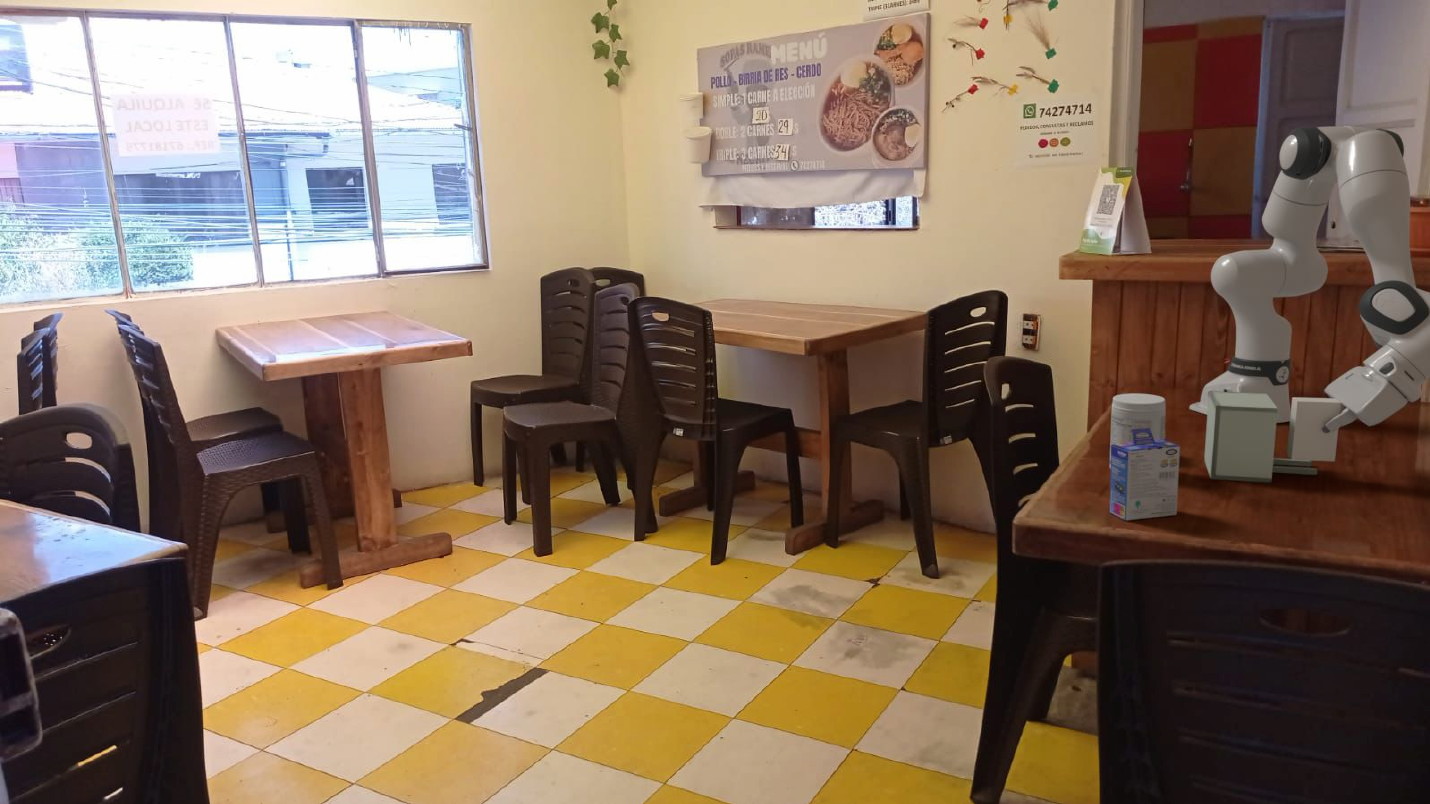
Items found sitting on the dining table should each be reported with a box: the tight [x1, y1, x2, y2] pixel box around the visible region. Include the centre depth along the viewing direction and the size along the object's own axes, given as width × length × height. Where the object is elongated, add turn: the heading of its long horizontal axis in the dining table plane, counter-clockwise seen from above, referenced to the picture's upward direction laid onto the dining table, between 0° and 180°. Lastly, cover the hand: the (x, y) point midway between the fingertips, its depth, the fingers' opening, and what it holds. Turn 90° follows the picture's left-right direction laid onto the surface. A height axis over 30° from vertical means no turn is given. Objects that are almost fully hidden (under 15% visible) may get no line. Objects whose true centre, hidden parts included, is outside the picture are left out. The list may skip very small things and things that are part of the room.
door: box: [1286, 396, 1341, 462], centre depth 181 cm, size 7×4×11 cm, turn 74°
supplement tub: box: [1109, 392, 1167, 470], centre depth 189 cm, size 10×10×15 cm
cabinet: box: [1203, 391, 1318, 484], centre depth 186 cm, size 18×15×14 cm
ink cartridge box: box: [1109, 428, 1181, 521], centre depth 165 cm, size 10×6×14 cm, turn 102°
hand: (1322, 424), depth 180 cm, fingers closed on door, 4 cm apart
